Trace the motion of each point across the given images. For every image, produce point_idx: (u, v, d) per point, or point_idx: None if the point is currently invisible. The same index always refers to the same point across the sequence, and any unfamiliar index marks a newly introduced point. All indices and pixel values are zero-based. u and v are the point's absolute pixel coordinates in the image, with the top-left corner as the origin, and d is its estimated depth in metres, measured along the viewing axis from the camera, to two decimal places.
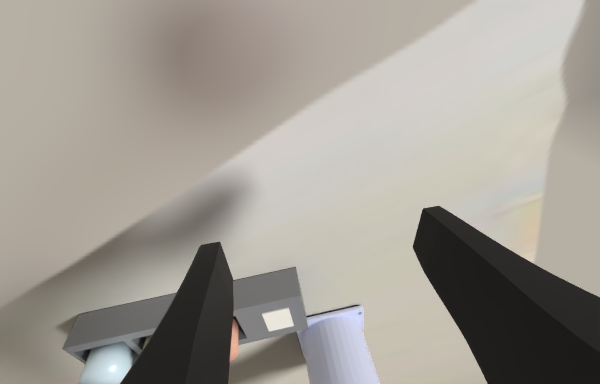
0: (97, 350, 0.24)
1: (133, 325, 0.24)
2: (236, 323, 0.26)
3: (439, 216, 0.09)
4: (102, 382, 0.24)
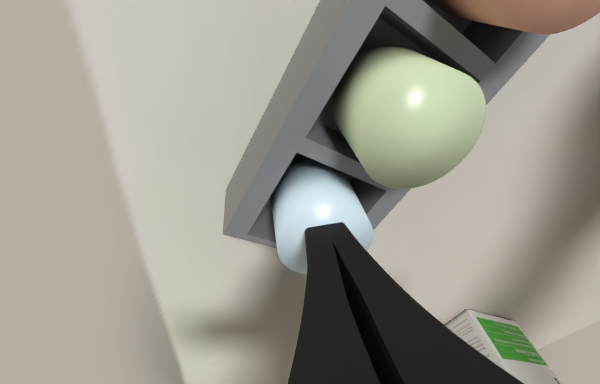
0: (275, 200, 0.11)
1: (286, 105, 0.09)
2: None
3: (334, 234, 0.09)
4: None
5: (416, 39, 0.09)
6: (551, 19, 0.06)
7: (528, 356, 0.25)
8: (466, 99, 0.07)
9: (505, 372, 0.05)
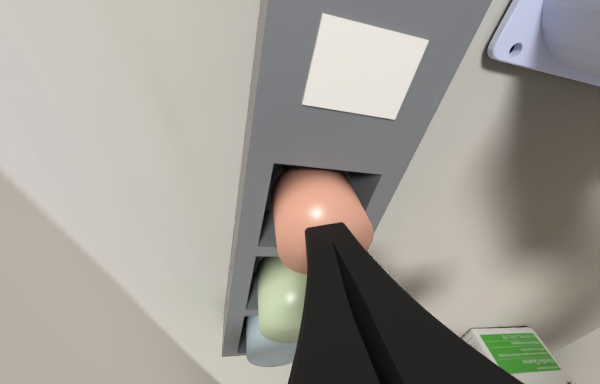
0: (246, 323, 0.17)
1: None
2: (315, 168, 0.11)
3: (334, 233, 0.09)
4: (277, 352, 0.16)
5: None
6: None
7: (538, 365, 0.27)
8: None
9: (505, 372, 0.05)
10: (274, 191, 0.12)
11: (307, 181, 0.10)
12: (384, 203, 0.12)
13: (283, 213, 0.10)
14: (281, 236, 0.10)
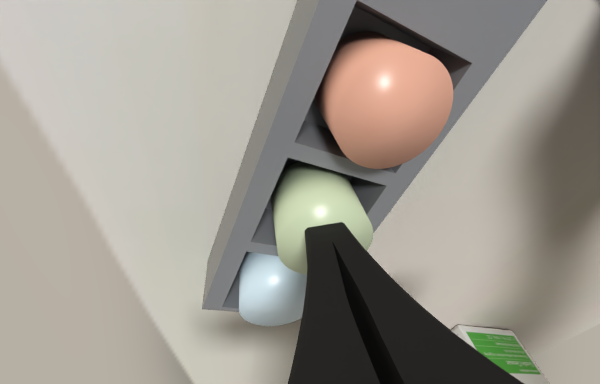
0: (239, 270, 0.14)
1: (232, 218, 0.12)
2: (384, 36, 0.09)
3: (334, 233, 0.09)
4: (276, 305, 0.13)
5: None
6: (388, 160, 0.09)
7: (520, 367, 0.26)
8: (351, 219, 0.10)
9: (505, 372, 0.05)
10: None
11: (379, 40, 0.08)
12: (458, 110, 0.10)
13: (351, 65, 0.08)
14: (349, 86, 0.07)
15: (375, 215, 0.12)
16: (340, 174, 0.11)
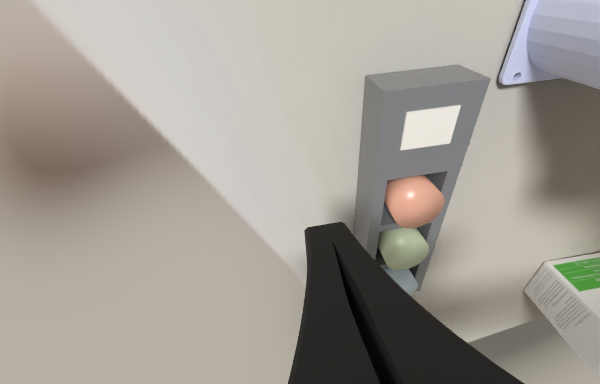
0: None
1: None
2: None
3: (334, 233, 0.09)
4: None
5: None
6: (425, 221, 0.20)
7: None
8: (414, 243, 0.21)
9: (505, 372, 0.05)
10: None
11: (401, 179, 0.20)
12: (451, 185, 0.20)
13: (394, 198, 0.19)
14: (396, 210, 0.19)
15: (432, 235, 0.23)
16: None
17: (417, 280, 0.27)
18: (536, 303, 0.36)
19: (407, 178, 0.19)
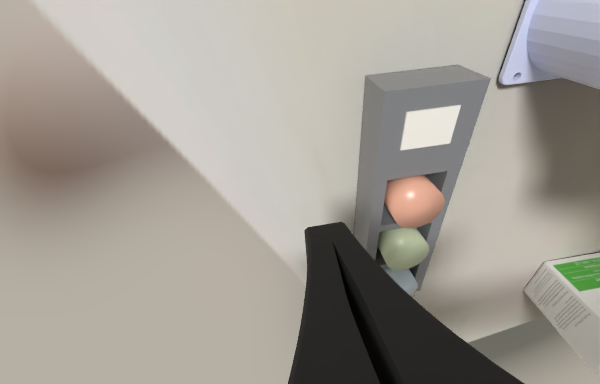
0: None
1: None
2: None
3: (334, 233, 0.09)
4: None
5: None
6: (425, 221, 0.20)
7: None
8: (414, 243, 0.21)
9: (505, 372, 0.05)
10: None
11: (401, 179, 0.20)
12: (451, 185, 0.20)
13: (394, 198, 0.19)
14: (396, 210, 0.19)
15: (432, 235, 0.23)
16: None
17: (417, 280, 0.27)
18: (536, 303, 0.36)
19: (407, 178, 0.19)
